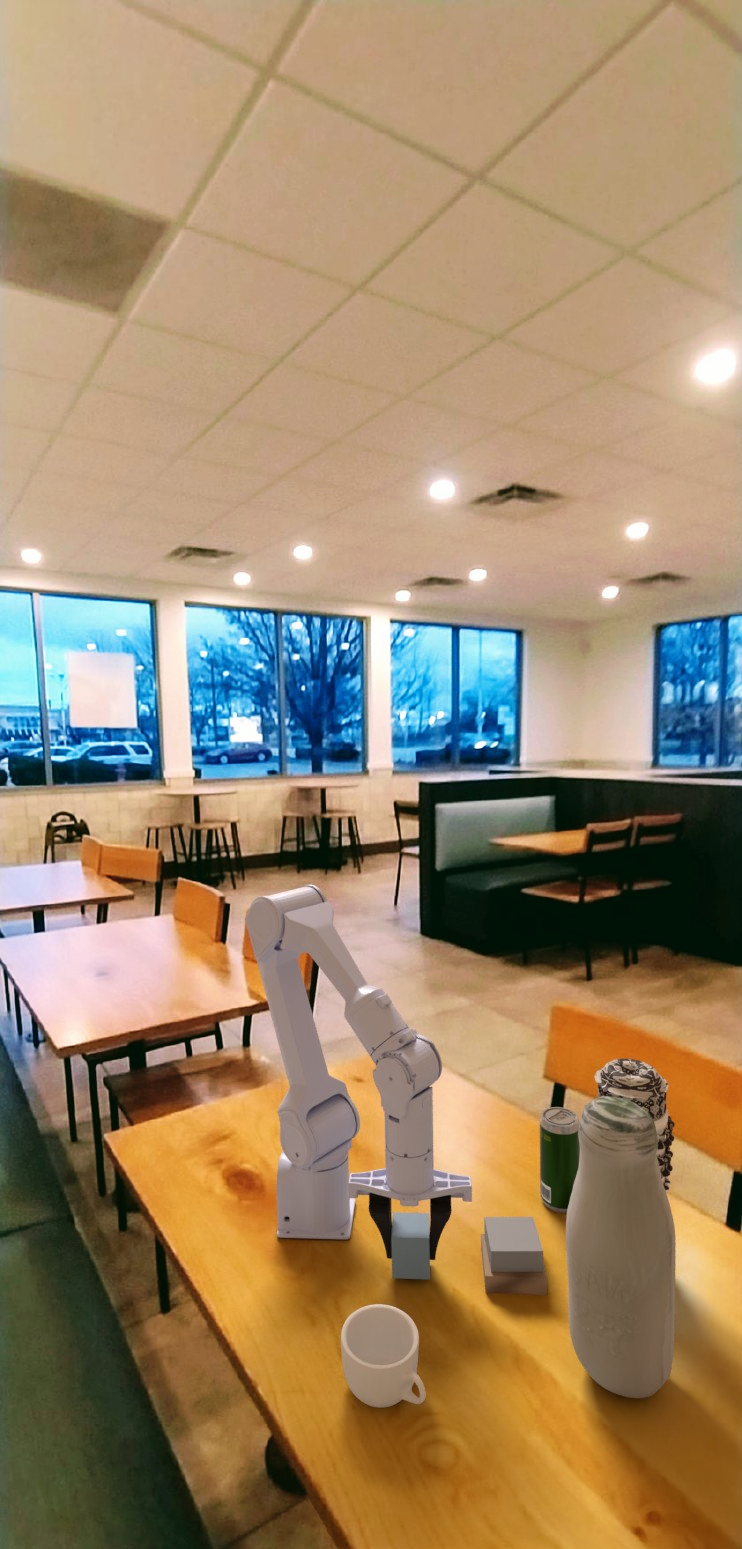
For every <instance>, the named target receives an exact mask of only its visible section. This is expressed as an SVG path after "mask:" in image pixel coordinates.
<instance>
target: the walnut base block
mask: <svg viewBox="0 0 742 1549" xmlns="http://www.w3.org/2000/svg"><path fill="white" fill-rule="evenodd" d="M480 1247H481V1248H480V1250H481V1261H482V1271H483V1280H484V1281H483V1283H484V1291H485V1294H487V1293H488V1294H512V1295H537V1296H547V1295H548V1276H547V1272H546V1271H547V1270H546V1268H545V1263H544V1262H545V1261H544V1260H543V1272H491V1268H490V1263H489V1257H488V1252H487V1247H486V1241H485V1233H481V1234H480Z"/></svg>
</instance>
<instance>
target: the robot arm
mask: <svg viewBox="0 0 742 1549" xmlns="http://www.w3.org/2000/svg"><path fill="white" fill-rule="evenodd" d="M334 910H335V909H334V907H333V906H332V905H331V904H330V902H329V901H328V900H327V897H326V895H325V893H324V892H323V890H321V889H320V888H319V887H318V886H317V885H314V884H305V885H303V886H301V887H299V888H294V889H291V890H286V891H282V892H278V893H274V894H269V895H260V896H258V897H256V898H255V899H254V900H253V901H252V903H251V904H250V907H249V909H248V911H247V912H246V913H247V914H246V916H245V918H244V920H245V925H246V929H247V932H248V936H249V940H250V943H251V948H252V952H253V955H254V959H255V961H256V962H257V967H258V970H259V973H260V978H261V981H262V982H261V983H262V986H263V990H264V993H265V997H266V1002H267V1004H268V1009H269V1013H270V1016H271V1020H272V1024H273V1027H274V1028H273V1029H274V1033H275V1035H276V1039H277V1043H278V1046H279V1051H280V1055H281V1058H282V1063H283V1066H284V1069H285V1074H286V1077H287V1081H288V1082H287V1083H288V1084H289V1086H288V1090H287V1092H286V1093H285V1095H284V1097H283V1099H282V1101H281V1103H280V1104H279V1106H278V1108H277V1115H278V1118H279V1141H280V1146H281V1148H282V1149H281V1150H282V1151H281V1153H280V1156H279V1159H278V1163H277V1170H276V1210H277V1211H276V1212H277V1217H276V1218H277V1231H276V1236H277V1237H278V1238H282V1239H283V1238H286V1239H314V1240H315V1239H316V1240H318V1239H319V1240H321V1239H322V1240H349V1239H350V1238H351V1235H352V1228H353V1227H352V1225H353V1220H354V1214H355V1207H356V1199H358V1198H359V1196H368V1212H369V1216H370V1218H371V1220H372V1221H373V1222H374V1224H375V1225H376V1228H377V1229H378V1231H379V1234H380V1236H381V1239H382V1242H383V1245H384V1248H385V1254H386V1258H387V1259H388V1260H392V1243H391V1235H392V1220H393V1216H392V1199H393V1200H397V1201H399V1204H400V1206H401V1207H413V1208H414V1207H417V1206H419V1202H422V1201H427V1200H429V1204H430V1205H429V1212H430V1213H429V1246H430V1261H436V1257H437V1256H436V1255H437V1250H438V1245H439V1242H440V1238H441V1235H442V1234H443V1231H444V1229H445V1227H446V1226H447V1223H448V1221H450V1218H451V1215H452V1212H453V1211H452V1198H460V1199H462V1201H463V1202H468V1203H469V1202H473V1189H472V1188H473V1185H472V1176H470V1175H460V1174H456V1173H451V1172H448V1171H442V1170H439V1169H435V1167H434V1161H435V1160H434V1110H433V1109H434V1108H433V1107H434V1104H433V1102H434V1100H433V1096H434V1092H433V1091H434V1090H433V1086H432V1085H433V1084H434V1083H436V1082H437V1081H438V1080H439V1079H440V1077H441V1074H442V1072H443V1062H442V1058H441V1055H440V1053H439V1051H438V1049H437V1047H436V1044H435V1043H434V1042H433V1041H432V1040H431V1039H430V1038H428V1037H426V1036H425V1035H423V1034H420V1033H418V1031H417V1030H416V1029H414V1028H413V1027H412V1028H410V1027H409V1025H408V1024H407V1022H406V1021H405V1019H404V1018H403V1016H402V1015H401V1013H400V1012H399V1011H398V1009H397V1008H396V1007H395V1005H394V1004H393V1001H392V999H391V998H390V996H389V995H388V993H385V991H384V989H382V988H381V987H378V986H374V985H370V984H368V982H367V981H366V979H365V977H364V975H363V974H362V972H361V970H360V968H359V967H358V965H357V964H356V961H355V960H354V959H353V956H352V955H351V953H350V951H349V950H348V948H347V945H346V943H344V940H343V939H342V938H341V936H340V934H339V932H338V931H337V929H336V927H335V925H334V917H335V916H334V915H335V914H334ZM302 953H303V954H304V953H305V954H309V956H310V957H311V959H313V961H314V962H315V963H316V965H317V967H319V969H320V970H321V971H322V973H323V974H324V975H325V976H326V978H327V979H328V980H329V982H330V983H331V984H332V985H333V987H334V988H335V990H337V992H338V993H339V994H340V996H341V997H342V998H343V1000H344V1001H345V1003H344V1004H345V1005H344V1013H343V1014H344V1015H343V1016H344V1019H345V1021H346V1022H347V1023H348V1025H349V1026H350V1028H351V1029H352V1031H353V1032H354V1034H355V1036H356V1037H357V1039H358V1040H359V1041H360V1043H361V1044H362V1046H363V1048H364V1049H365V1051H366V1052H367V1054H368V1056H369V1057H370V1059H371V1060H372V1062H373V1063H374V1065H375V1066H376V1067H375V1069H372V1071H371V1072H372V1078H373V1082H374V1084H375V1087H376V1089H377V1090H378V1093H379V1095H380V1096H379V1097H380V1106H381V1107H382V1110H383V1112H384V1148H385V1149H384V1153H385V1155H384V1156H385V1159H384V1160H385V1167H384V1168H380V1169H379V1168H378V1169H375V1170H368V1171H363V1172H350V1171H349V1170H350V1168H349V1166H350V1165H349V1164H350V1163H349V1162H350V1161H349V1152H350V1150H351V1149H352V1148H353V1145H352V1144H353V1142H352V1140H353V1139H355V1137H357V1135H358V1134H359V1132H360V1128H361V1119H360V1115H359V1110H358V1108H357V1106H356V1104H355V1103H354V1102H353V1100H352V1099H351V1096H350V1094H349V1092H348V1088H347V1084H346V1083H345V1082H344V1081H343V1080H341V1079H339V1078H336V1077H335V1076H332V1075H330V1074H329V1070H328V1067H327V1062H326V1059H325V1056H324V1052H323V1048H322V1045H321V1042H320V1037H319V1034H318V1030H317V1026H316V1023H315V1019H314V1015H313V1011H312V1007H311V1004H310V1001H309V997H308V994H307V990H306V985H305V982H304V978H303V974H302V970H301V968H300V964H299V958H300V957H301V954H302Z"/></svg>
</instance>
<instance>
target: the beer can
mask: <svg viewBox="0 0 742 1549" xmlns="http://www.w3.org/2000/svg"><path fill="white" fill-rule="evenodd" d="M540 1115H541V1117H540V1119H539V1174H540V1175H539V1178H540V1179H539V1181H540V1182H539V1183H540V1186H539V1187H540V1192H539V1194H540V1198H541V1200H542V1202H543V1204H544V1206H546V1207H547V1208H548V1209H549V1210H551V1211H552V1212H556V1213H559V1214H560V1213H561V1214H562V1213H563V1214H567V1209H568V1205H569V1202H570V1197H571V1193H572V1190H573V1185H574V1181H575V1178H576V1175H577V1171H578V1168H579V1158H580V1143H579V1135H578V1132H579V1124H580V1121H579V1116H578V1114H577V1113H576V1112H575V1111H573V1110H572V1109H568V1108H565V1107H560V1106H555V1107H554V1106H553V1107H552V1106H551V1107H548V1108H545V1109H544V1110H542V1112H541V1114H540Z"/></svg>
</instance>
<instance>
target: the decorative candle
mask: <svg viewBox="0 0 742 1549" xmlns="http://www.w3.org/2000/svg"><path fill="white" fill-rule="evenodd" d="M594 1079H595V1083H597V1084H598V1085H597V1094H598V1097H597V1098H599V1097H604V1096H608V1097H617V1098H622V1099H626V1100H629V1101H631V1102H634V1103H635V1104H637V1105H639V1106H640V1107H641V1108H643V1109H644V1110H645V1111H646V1112H647V1113H648V1114H649V1115H650V1116H651V1117H652V1119H653V1121H654V1123H655V1127H656V1132H657V1138H658V1149H657V1152H656V1155H657V1159H658V1164H659V1168H660V1172H661V1178H662V1182H663V1185H664V1189H665V1191H666V1194H668V1193H669V1191H670V1187H671V1181H670V1178H669V1176H671V1172H672V1171H673V1170H674V1169H673V1165H672V1164H671V1161H672V1158H673V1157H674V1153H673V1151H672V1150H671V1148H670V1147H671V1146H672V1144H673V1142H674V1141H675V1136H674V1135H673V1133H672V1132H673V1130H674V1127H675V1125H676V1124H675V1122H674V1121H673V1120H672V1117H671V1115H669V1111H668V1109H667V1091H668V1088H669V1086H670V1085H669V1083H668V1082H667V1080H666V1078H664V1077H663V1076H661V1075H660V1074H659V1073H658V1071H657V1070H656V1068H654V1067H653V1065H652V1066H651V1065H650V1064H649V1063H647V1062H644V1061H642V1060H639V1059H638V1060H637V1059H633V1058H615V1059H613V1060H610V1061H609V1062H606V1063H605V1064H604V1066H603V1067H602V1068H600V1069H598V1070H597V1071H596V1072H595V1074H594Z"/></svg>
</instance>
